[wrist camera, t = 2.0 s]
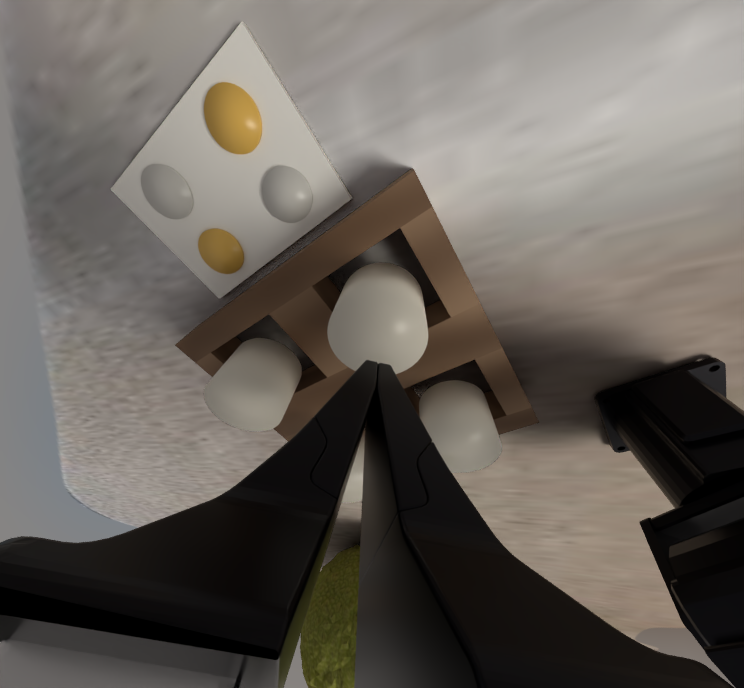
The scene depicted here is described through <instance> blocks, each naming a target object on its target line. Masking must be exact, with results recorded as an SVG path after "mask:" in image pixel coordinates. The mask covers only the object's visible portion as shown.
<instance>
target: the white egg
mask: <svg viewBox="0 0 744 688" xmlns="http://www.w3.org/2000/svg"><path fill="white" fill-rule="evenodd" d="M327 334H328V340H329V344H330V346H331V349H332V350H333V352H334V354H335V355H336V356H337V358H338V359H339V360H340V361H341V362H342V363H344V364H345V365H346V366H348V367H349V368H351V369H352V370H354V371H356V370H357V369H358V368H359V367H360V366H361V365H362V364H363V363H364V362H365V361H366V360H371V361H375V362H377V363H378V364H379V363H384V364H389V365H391V366H392V368H393V370H394V372H395V374H398V373H401V372H403V371H405V370H407V369H409V368H410V367H412V366H413V365H414V364H415V363H416V362H417V361H418V360H419V359H420V358H421V356H422V355H423V353H424V351H425V349H426V346H427V343H428V327H427V320H426V314H425V307H424V300H423V294H422V290H421V287H420V285H419V283H418V282H417V280H416V279H415V277H414V276H413V275H412V274H411V273H409V272H408V271H407V270H405V269H404V268H402V267H400V266H398V265H395V264H391V263H382V262H379V263H372V264H368V265H366V266H363V267H361V268H359V269H358V270H357V271H355V272H354V273H353V274H352V275H351V276H350V277H349V279H348V280H347V282H346V283H345V285H344V288H343V290H342V292H341V294H340V297H339V299H338V301H337V303H336V305H335V308H334V310H333V312H332V314H331V317H330V319H329V323H328V330H327Z"/></svg>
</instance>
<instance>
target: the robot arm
mask: <svg viewBox="0 0 744 688" xmlns="http://www.w3.org/2000/svg"><path fill="white" fill-rule="evenodd" d="M595 402H596V405H597V408H598V411H599V414H600V417H601V420H602V423H603V426H604V429H605V432H606V434H607V437H608V440H609V443H610V446H611V447H612V449H613V450H614V451H615V452H618V453H620V452H625V451H631V452H632V453H633V455H634V456H635V457H636V458H637V460H638V461H639V462H640V464H641V465H642V466H643V467H644V469H645V470H646V471H647V473H648V474H649V475H650V476H651V478H652V479H653V480H654V482H655V483H656V484H657V485H658V487H659V488H660V489H661V491H662V492H663V493H664V495H665V496H666V497H667V498H668V500H669V501H670V502H671V504H672V505H673V506H674V507H675V509H673V510H670V511H668V512H666V513H663V514H661V515H659V516H656V517H654V518H652V519H651V518H647V519H644V520H642V521H640V525H641V527H642V530H643V532H644V534H645V537H646V539H647V542H648V544H649V546H650V549H651V551H652V553H653V556H654V558H655V560H656V563H657V565H658V567H659V570H660V572H661V574H662V577H663V579H664V581H665V583H666V586H667V588H668V590H669V593H670V595H671V597H672V600H673V602H674V604H675V607H676V609H677V611H678V613H679V616H680V618H681V620H682V622H683V624H684V625H685V627H686V628H687V629H688V630H689V631H690V632H691V633H692V634H693V636H694V637H695V638H696V640H697V641H698V643H699V644H700V645H701V646H702V648H703V649H704V650H705V652H706V654H707V656H708V657H709V658H710V659H711V661H712V662H713V663H714V664H715V665H716V666H717V667H718V668H719V669H720V671H721V672H722V673H723V674H724V675H725V676H726V677H727V678H728V680H729V681H730V682H731V683H732V684H733V685H734V686H735V687H736V688H744V411H743V410H741V409H740V408H739V407H737V406H736V405H735V404H733V403H732V402H731V401H729V400H728V399H727V398H726V368H725V363H723V362H722V361H720V360H719V359H717V358H708V359H704V360H701V361H698V362H695V363H692V364H689V365H685V366H682V367H679V368H676V369H673V370H669V371H666V372H663V373H660V374H657V375H654V376H650V377H647V378H644V379H641V380H638V381H634V382H631V383H628V384H625V385H622V386H619V387H615V388H612V389H609V390H606V391H603V392H600V393H598V394H597V395H596V396H595ZM365 424H366V426H365ZM364 428H365V444H364V468H363V492H362V516H361V540H360V564H359V588H358V610H357V634H356V659H355V683H354V688H734V687H733V686H731V685H730V684H729V683H728V682H726V681H725V680H724V679H722V678H721V677H720V676H718V675H717V674H716V673H715V672H713V671H712V670H711V669H709V668H708V667H707V666H705V665H704V664H702V663H700V662H697V661H695V660H691V659H687V658H683V657H677V656H672V655H667V654H664V653H660V652H657V651H655V650H653V649H651V648H648V647H646V646H644V645H642V644H640V643H638V642H637V641H635V640H633V639H631V638H630V637H628V636H626V635H624V634H623V633H621V632H620V631H618V630H617V629H615V628H614V627H612V626H611V625H609V624H608V623H607V622H605V621H604V620H602V619H601V618H600V617H598V616H597V615H595V614H594V613H593V612H591V611H590V610H588V609H587V608H586V607H584V606H583V605H581V604H580V603H579V602H577V601H576V600H574V599H573V598H572V597H570V596H569V595H567V594H566V593H565V592H563V591H562V590H560V589H559V588H558V587H556V586H555V585H553V584H552V583H551V582H549V581H548V580H546V579H545V578H544V577H542V576H541V575H539V574H538V573H536V572H535V571H534V570H532V569H531V568H529V567H528V566H527V565H525V564H524V563H522V562H521V561H520V560H518V559H517V558H516V557H515V556H514V555H512V554H511V553H510V552H509V551H508V550H507V549H506V548H505V547H504V546H503V545H502V544H501V542H500V541H499V540H498V539H497V538H496V536H495V535H494V534H493V532H492V531H491V530H490V528H489V527H488V525H487V524H486V522H485V521H484V520H483V518H482V517H481V515H480V514H479V512H478V511H477V509H476V508H475V507H474V505H473V504H472V502H471V501H470V499H469V498H468V497H467V495H466V494H465V492H464V491H463V489H462V488H461V486H460V485H459V483H458V482H457V480H456V479H455V477H454V476H453V474H452V473H451V471H450V470H449V468H448V467H447V465H446V463H445V462H444V460H443V458H442V456H441V455H440V453H439V451H438V450H437V448H436V446H435V444H434V442H432V439H431V437H430V435H429V433H428V432H427V430H426V428H425V426H424V424H423V423H422V421H421V419H420V417H419V415H418V414H417V412H416V410H415V408H414V406H413V404H412V403H411V401H410V399H409V397H408V395H407V394H406V392H405V390H404V388H403V386H402V385H401V383H400V381H399V379H398V377H397V376H396V374H395V372H394V370H393V368H392V366H391V365H389V364H384V363H379V364H378V363H377V362H375V361H371V360H366V361H365V362H364V363H363V364H362V365H361V366H360V367H359V368H358V369H357V370H356V371H355V372H354V373H353V374H352V376H351V377H350V378H349V379H348V380H347V381H346V382H345V383H344V384H343V385H342V386H341V387H340V388H339V390H338V391H337V392H336V393H335V394H334V395H333V396H332V397H331V398H330V399H329V400H328V401H327V403H326V404H325V405H324V406H323V407H322V408H321V409H320V410H319V411H318V412H317V413H316V414H315V415H314V417H313V418H312V419H311V420H310V421H309V422H308V423H307V424H306V425H305V426H304V427H303V428H302V429H301V430H300V431H299V432H298V433H297V434H296V435H295V436H294V437H293V438H292V439H291V440H290V441H288V442H287V443H286V444H285V445H284V446H283V447H282V448H280V449H279V450H278V451H277V452H276V453H274V454H273V455H272V456H271V457H270V458H268V459H267V460H266V461H265V462H264V463H262V464H261V465H260V466H259V467H258V468H256V469H255V470H254V471H253V472H252V473H250V474H249V475H248V476H247V477H245V478H244V479H243V480H242V481H241V482H239V483H238V484H237V485H236V486H234V487H233V488H231V489H230V490H228V491H227V492H225V493H224V494H222V495H220V496H218V497H216V498H214V499H212V500H210V501H207V502H205V503H202V504H199V505H197V506H194V507H191V508H189V509H186V510H184V511H181V512H178V513H176V514H173V515H170V516H168V517H165V518H163V519H160V520H157V521H155V522H152V523H149V524H147V525H144V526H142V527H139V528H136V529H134V530H131V531H128V532H126V533H123V534H120V535H117V536H114V537H110V538H107V539H102V540H97V541H92V542H81V543H70V542H61V541H55V540H50V539H45V538H38V537H24V536H21V537H17V538H11V539H8V540H5V541H3V542H1V543H0V642H1V643H0V688H284V684H285V681H286V678H287V675H288V671H289V668H290V665H291V662H292V659H293V656H294V652H295V649H296V646H297V642H298V640H299V636H300V633H301V630H302V627H303V624H304V620H305V617H306V614H307V611H308V608H309V604H310V601H311V598H312V595H313V592H314V588H315V585H316V582H317V578H318V575H319V572H320V569H321V566H322V563H323V559H324V556H325V553H326V550H327V547H328V543H329V540H330V537H331V534H332V531H333V527H334V524H335V521H336V518H337V515H338V511H339V508H340V505H341V502H342V499H343V495H344V492H345V489H346V486H347V483H348V479H349V476H350V473H351V470H352V467H353V463H354V460H355V457H356V454H357V450H358V447H359V444H360V441H361V438H362V434H363V431H364Z"/></svg>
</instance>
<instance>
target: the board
mask: <svg viewBox="0 0 744 688" xmlns="http://www.w3.org/2000/svg"><path fill="white" fill-rule="evenodd" d="M399 228H401V230H402V232H403V234H404V235H405V237H406V239H407V241H408V243H409V244H410V246H411V248H412V250H413V251H414V253H415V255H416V257H417V258H418V260H419V262H420V264H421V265H422V267H423V269H424V271H425V272H426V274H427V276H428V278H429V280H430V281H431V283H432V285H433V287H434V288H435V290H436V292H437V294H438V295H439V297H440V299H441V300H439V301H437V302H435V303H433V304H431V305H429V306H427V307H426V308H425V314H426V320H427V327H428V343H427V346H426V349H425V351H424V353H423V355H422V356H421V358H420V359H419V360H418V361H417V362H416V363H415V364H414V365H413V366H412V367H410V368H409V369H407V370H405V371H403V372H401V373H398V374H396V376H397V377H398V379H399V381H400V383H401V385H402V386H403V388H404V390H405V392H406V394H407V395H408V397H409V399H410V401H411V403H412V404H413V406H414V408H415V410H416V412H417V414H418V415H419V401H420V398H419V397H418V396H417V394H416V393H415V392H414V390H413V389H412V388H411V385H414V384H416V383H419V382H421V381H424V380H426V379H428V378H431V377H433V376H436V375H438V374H440V373H443V372H445V371H448V370H450V369H453V368H455V367H457V366H460V365H462V364H465V363H467V362H470V361H472V360H474V359H475V361H476V362H477V364H478V366H479V368H480V369H481V371H482V373H483V375H484V376H485V378H486V380H487V382H488V383H489V385H490V387H491V389H492V391H489V392H486V393H484V395H485V397H486V400H487V403H488V406H489V409H490V412H491V415H492V417H493V420H494V423H495V426H496V429H497V432H498V435H499V434H503V433H506V432H509V431H513V430H516V429H519V428H523V427H526V426H529V425H533V424H536V423H539V421H538V419H537V417H536V415H535V413H534V411H533V409H532V407H531V405H530V403H529V401H528V399H527V397H526V395H525V393H524V391H523V388H522V386H521V384H520V382H519V380H518V378H517V376H516V374H515V372H514V370H513V368H512V366H511V364H510V362H509V360H508V358H507V356H506V354H505V352H504V350H503V348H502V346H501V344H500V342H499V340H498V338H497V336H496V334H495V332H494V330H493V328H492V326H491V324H490V322H489V320H488V318H487V316H486V314H485V312H484V310H483V308H482V306H481V304H480V302H479V300H478V298H477V296H476V294H475V292H474V290H473V288H472V286H471V284H470V282H469V280H468V278H467V276H466V274H465V272H464V269H463V267H462V265H461V263H460V261H459V259H458V257H457V255H456V253H455V251H454V249H453V247H452V245H451V243H450V241H449V239H448V237H447V235H446V233H445V231H444V229H443V227H442V225H441V223H440V221H439V219H438V217H437V215H436V213H435V211H434V209H433V207H432V205H431V203H430V201H429V199H428V197H427V195H426V193H425V191H424V189H423V187H422V185H421V183H420V181H419V179H418V177H417V175H416V173H415V171H414V169H413V168H412V169H410V170H409V171H408V172H406V173H405V174H404V175H402V176H401V177H400V178H398V179H397V180H395V181H394V182H393V183H391V184H390V185H389V186H387V187H386V188H385V189H383V190H382V191H381V192H379V193H378V194H376V195H375V196H374V197H372V198H371V199H370V200H368V201H367V202H366V203H364V204H363V205H361V206H360V207H359V208H357V209H356V210H355V211H353V212H352V213H351V214H349V215H348V216H347V217H345V218H344V219H342V220H341V221H340V222H338V223H337V224H336V225H334V226H333V227H332V228H330V229H329V230H327V231H326V232H325V233H323V234H322V235H321V236H319V237H318V238H317V239H315V240H314V241H313V242H311V243H310V244H308V245H307V246H306V247H304V248H303V249H302V250H300V251H299V252H298V253H296V254H295V255H293V256H292V257H291V258H289V259H288V260H287V261H285V262H284V263H283V264H281V265H280V266H279V267H277V268H276V269H274V270H273V271H272V272H270V273H269V274H268V275H266V276H265V277H264V278H262V279H261V280H259V281H258V282H257V283H255V284H254V285H253V286H251V287H250V288H249V289H247V290H246V291H245V292H243V293H242V294H240V295H239V296H238V297H236V298H235V299H234V300H232V301H231V302H230V303H228V304H227V305H226V306H224V307H223V308H221V309H220V310H219V311H217V312H216V313H215V314H213V315H212V316H211V317H209V318H208V319H206V320H205V321H204V322H202V323H201V324H200V325H198V326H197V327H196V328H195V329H194V330H192V331H191V332H190V333H189V334H188V335H186V336H185V337H184V338H183V339H182V340H180V341H179V342H178V343H177V344H176V345H175V346H177V347H178V348H179V349H180V350H181V351H182V352H184V353H185V354H186V355H187V356H188V357H190V358H191V359H192V360H193V361H194V362H195V363H197V364H198V365H199V366H200V367H201V368H202V369H204V370H205V371H206V372H207V373H208V374H210V375H211V376H212V377H213V376H214V375H215V374H216V373H217V371H218V370H219V369H220V368H221V367H222V366H223V364H224V363H225V362H226V361H227V360H228V359H229V357H230V356H231V355H232V354H233V353H234V352H235V350H236V349H237V348H238V347H239V346H240V345H241V344H242V342H241V341H240V340H239V339H238V338H237V337H236V336H237V335H238V334H240V333H241V332H243V331H244V330H246V329H247V328H249V327H250V326H252V325H253V324H255V323H256V322H258V321H259V320H261V319H263V318H264V317H266V316H267V315H270V316H271V317H272V318H273V319H274V320H275V321H276V322H277V323H278V324H279V326H280V327H281V328H282V329H283V330H284V331H285V332H286V333H287V334H288V335H289V336H290V337H291V339H292V340H293V341H294V342H295V343H296V344H297V345H298V346H299V347H300V348H301V349H302V350H303V352H304V353H305V354H306V355H307V356H308V357H309V358H310V359H311V360H312V361H313V362H314V363H315V365H314V366H312V367H310V368H308V369H306V370H304V371H302V376H301V379H300V381H299V383H298V385H297V388H296V390H295V392H294V394H293V396H292V399H291V401H290V403H289V405H288V407H287V410H286V412H285V414H284V416H283V418H282V420H281V422H280V423H279V425H278V426H276V427H275V428H273V429H274V430H276V431H277V432H278V433H279V434H280V435H282V436H283V437H284V438H285V439H286V440H287V441H290V440H291V439H292V438H293V437H294V436H295V435H296V434H297V433H298V432H299V431H300V430H301V429H302V428H303V427H304V426H305V425H306V424H307V423H308V422H309V421H310V420H311V419H312V418H313V417H314V415H315V414H316V413H317V412H318V411H319V410H320V409H321V408H322V407H323V406H324V405H325V404H326V403H327V401H328V400H329V399H330V398H331V397H332V396H333V395H334V394H335V393H336V392H337V391H338V390H339V388H340V387H341V386H342V385H343V384H344V383H345V382H346V381H347V380H348V379H349V378H350V377H351V376H352V374H353V373H354V372H355V371H354V370H352V369H351V368H349V367H348V366H346V365H345V364H344V363H342V362H341V361H340V360H339V359H338V358H337V356H336V355H335V354H334V352H333V350H332V349H331V346H330V344H329V340H328V334H327V330H328V323H329V319H330V317H331V314H332V312H333V310H334V308H335V305H336V303H337V301H338V299H339V297H340V294H341V293H340V292H339V290H338V289H337V288H336V286H335V285H334V284H333V282H332V281H331V280H330V278H329V277H328V275H329V274H331V273H332V272H334V271H335V270H337V269H338V268H340V267H341V266H343V265H345V264H346V263H348V262H349V261H351V260H352V259H354V258H355V257H357V256H358V255H360V254H361V253H363V252H364V251H366V250H367V249H369V248H370V247H372V246H373V245H375V244H376V243H378V242H379V241H381V240H382V239H384V238H386V237H387V236H389V235H390V234H392V233H393V232H395V231H396V230H398V229H399ZM419 417H420V415H419Z"/></svg>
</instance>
